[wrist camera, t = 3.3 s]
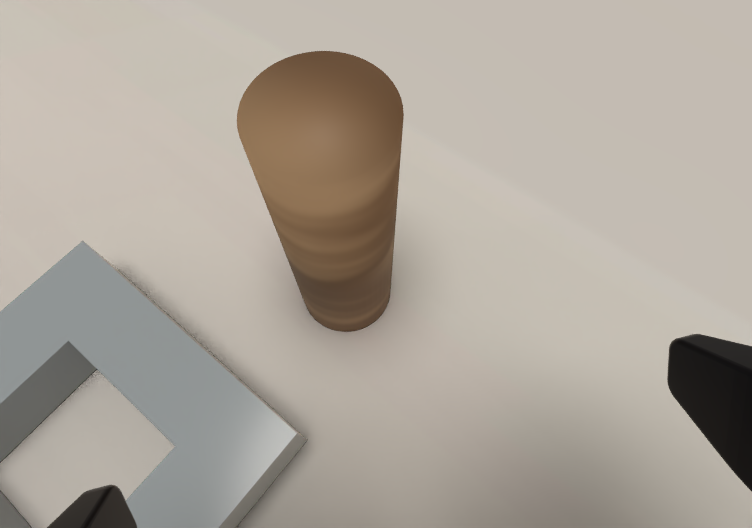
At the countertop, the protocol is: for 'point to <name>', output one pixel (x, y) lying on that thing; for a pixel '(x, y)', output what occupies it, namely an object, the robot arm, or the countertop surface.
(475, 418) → the countertop surface
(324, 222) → the peg
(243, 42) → the countertop surface
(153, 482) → the socket
